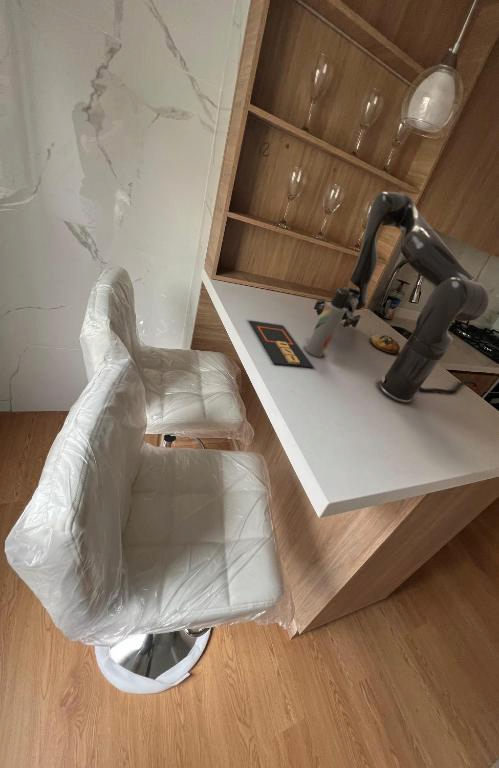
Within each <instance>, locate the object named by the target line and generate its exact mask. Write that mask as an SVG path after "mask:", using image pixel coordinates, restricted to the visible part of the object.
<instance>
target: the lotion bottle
mask: <svg viewBox="0 0 499 768" xmlns="http://www.w3.org/2000/svg"><path fill="white" fill-rule="evenodd" d="M342 288H343V287H342ZM342 288H336V290H335V292H334V295H333V296H332V298H331V301H329V302H326V303H327V304H326V306H325V307H324V309H323V312H322V313H321V314H320V315H319V319H318V321H317V323H316V325H315V327H314V329H313V332H312V334H311V336H310V338H309V340H308V343H306V347H305V350H306V352H308V354H310V355H311V356H314V357H317V358H318V357H319V358H320V357H323V356H324V354H325V352H326V351H327V349H328V346H329V345H330V343H331V341H332V339H333V337H334V336H335V333H336V331H337V329H338V328H339V326H340V323H341V322H342V321H341V319H342V317H343V315H344V313H345V309H344V306H345V304H346V302H347V300H348V298H349V296H350V294H349V291H347V290H346V289H342Z"/></svg>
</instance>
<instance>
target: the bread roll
mask: <svg viewBox="0 0 499 768" xmlns="http://www.w3.org/2000/svg"><path fill="white" fill-rule="evenodd" d="M370 342H371V343H372V344H373V345H374V346H375V348H376V349H378V350H380V351H381V352H385V353H388V354H397V353H400V351H401V350H400V349H401V346H400V344H399V342H398V341H397V340H395V339H394V338H393V337H392V336H388V335H386V334H381V333H379V334H378V333H377V334H374V335H373V336H371V340H370Z"/></svg>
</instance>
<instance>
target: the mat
mask: <svg viewBox="0 0 499 768" xmlns="http://www.w3.org/2000/svg"><path fill="white" fill-rule="evenodd" d="M249 324H250V325H251V327H252V329H253V330H254V332H255V333H256V336H257V337H258V339H259V341H260V342H261V344H262V346H263V348H264V349H265V351H266V352H267V354H268V356H269V358H270V360H271V361H272V363H273V365H276V366H277V365H278V366H287V367H297V368H298V367H299V368H305V369H306V368H307V369H308V368H309V369H314V366H313V364H312V363H311V362H310V360H309V359H308V358H307V356H306V355H305V353H304V352H303V351H302V350H301V348H300V347H299V345H298V344H297V343H296V341H295V340H294V339H293V337H292V336H291V335H290V333H289V332H288V331H287V329H286V328H285V326H284V325H281V324H274V323H269V322H262V321H256V320H255V321H254V320H249Z"/></svg>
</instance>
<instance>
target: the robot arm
mask: <svg viewBox="0 0 499 768" xmlns="http://www.w3.org/2000/svg"><path fill="white" fill-rule="evenodd" d="M365 224H366V225H365V228H364V233H363V237H362V238H363V239H362V241H361V246H360V250H359V253H358V257H357V260H356V262H355V265H354V268H353V270H352V273H351V275H350V282H351V283H352V284H353V285H354V286H356V287H357V288H355V287H353V286H349V285H346V286H344V287H342V289H346V290H347V291H349V294H350V296H349V298H348V300H347V302H346V304H345V306H344V309H345V313H344V315H343V317H342V319H341V321H340V322H342V324H343V325H342V327H343V328H348V327H350V326H351V327H352V328H356V327H357V326H358V323H359V322H360V319H361V316H362V315H360V314H355V315H354V313H355V311H360V310H363V309H364V308H365V306H366V305H367V302H368V294H369V288H370V284H371V281H372V279H373V277H374V273H375V271H376V269H377V266H378V261H379V255H378V254H379V253H378V248H377V247H378V246H377V236H378V233H379V231H380V229H381V226H388V227H394V228H397V229H398V230H399V231H400V232H401V234H402V237H401V238H402V239H401V242H400V251H401V254H402V256H403V257H404V259H405V260H406V262H407V263H408V264H409V266H410V267H411V268H412V270H414V271H415V272H416V273H417V274H419V275H420V276H421V277H422V278H424V279H425V280H426V281H428V282H429V283H431V284H432V285H433V286H435V288H434V289H433V291H432V293H431V294H430V296H429V297H428V299H427V300H426V302H425V304H424V306H423V308H422V310H421V312H420V313H419V315H418V317H417V320H416V323H415V327H414V329H413V331H412V332H411V334H410V336H409V337H408V339H407V340H406V342H405V344H404V346H402V348H401V350H400V351H399V352H398V354H397V356H396V358H395V359H394V361H393V362H392V364H391V365H390V367H389V369H388V370H387V372H386V373H385V374H383V375H382V377H381V381H380V382H379V383H378V388H379V389H380V391H381V392H382V393H383V394H384V395H385V396H387V397H388V398H390V399H391V400H392V401H393V400H394V401H396V402H398V403H402V404H409V403H410V402H411V401H412V400H413V398H414V396H415V395H416V394H417V392H418V391H420V392H423V393H424V392H426V393H430V392H438V393H439V392H440V393H446V394H447V393H454V392H456V391H457V390H458V389H459V388H460V386H461V385H462V384H471V385H473V386H474V387H475V388H478V384H477V382H476V381H473V380H460V381H458V382H457V384H456V385H455V386H454V387H453V388H451V389H443V388H435V387H431V388H423V387H422V386H423V384H424V383H425V382H426V380H427V379H428V377H429V376H430V374H432V371H434V369H435V367H436V366H437V365H438V364H439V362H440V361H441V359H442V358H443V357H444V355H445V354H446V353H447V351H448V349H449V348H450V347H451V345H452V344H453V343H454V342H453V341H454V338H453V337H452V335H451V334H450V333H449V328H450V327H451V325H452V323H453V322H454V320H455V321H460V322H469V321H470V322H471V321H476V320H478V319H479V318H481V317H483V315H485V314H486V312H487V310H488V308H489V305H490V295H489V291H488V289H487V288H486V287H485V285H483V284H482V283H481V282H480V281H479V280H477V278H475V277H474V276H473V275H472V274H471V273H469V271H468V270H466V269H465V267H463V265H461V263H460V261H459V260H458V259H457V257H456V256H455V255H454V253H453V252H452V251H451V250H450V249H449V247H448V246H447V245H446V244H445V243H444V241H443V239H442V238H441V237H440V235H438V233H437V232H436V231H435V230H434V229H433V228H432V227H431V225H430V224H429V223H428V222H427V220H426V219H425V218H424V216H423V215H422V214H421V212H420V211H419V209H418V207H417V206H416V203H415V201H414V200H413V198H412V197H411V196H410V195H409V194H407V193H404V192H397V191H387V190H384V191H383V190H382V191H380V192H379V193H377V194H376V196H375V197H374V199H373V201H372V203H371V206H370V209H369V212H368V216H367V220H366V223H365ZM327 303H328V302H326V299H325V298H320V299H318V300H316V301H315V303H314V306H313V309H314V310H315V311H316V315H318V316H321V314H322V312H323V310H324V308H325V306H326V304H327ZM460 382H461V383H460Z"/></svg>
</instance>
